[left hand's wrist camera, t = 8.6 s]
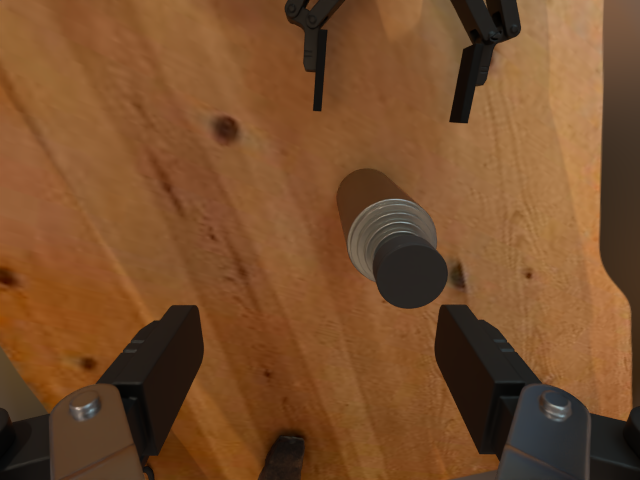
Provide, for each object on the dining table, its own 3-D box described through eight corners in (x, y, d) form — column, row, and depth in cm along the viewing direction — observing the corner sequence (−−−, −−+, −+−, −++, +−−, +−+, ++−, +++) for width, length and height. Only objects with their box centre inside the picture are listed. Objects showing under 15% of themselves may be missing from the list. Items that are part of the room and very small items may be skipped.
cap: (444, 283, 23) (454, 296, 22) (382, 302, 24) (387, 317, 22) (429, 225, 22) (438, 234, 20) (363, 247, 23) (367, 258, 21)
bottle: (401, 214, 43) (477, 304, 22) (347, 232, 43) (372, 336, 23) (385, 160, 40) (453, 204, 20) (328, 180, 41) (339, 243, 21)
